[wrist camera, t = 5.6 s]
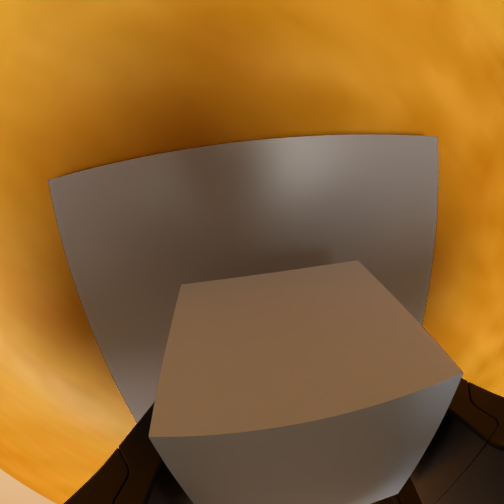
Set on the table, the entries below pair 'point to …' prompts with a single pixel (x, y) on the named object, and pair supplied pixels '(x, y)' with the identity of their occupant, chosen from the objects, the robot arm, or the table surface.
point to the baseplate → (239, 230)
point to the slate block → (297, 389)
